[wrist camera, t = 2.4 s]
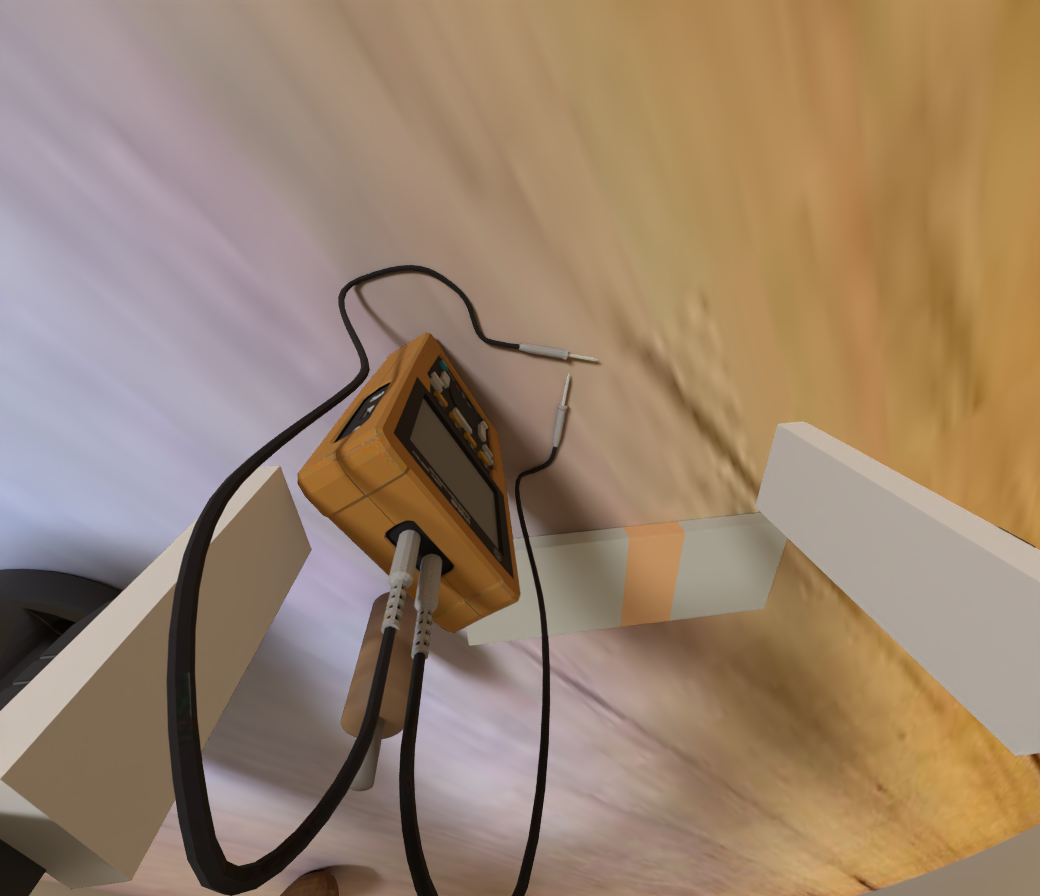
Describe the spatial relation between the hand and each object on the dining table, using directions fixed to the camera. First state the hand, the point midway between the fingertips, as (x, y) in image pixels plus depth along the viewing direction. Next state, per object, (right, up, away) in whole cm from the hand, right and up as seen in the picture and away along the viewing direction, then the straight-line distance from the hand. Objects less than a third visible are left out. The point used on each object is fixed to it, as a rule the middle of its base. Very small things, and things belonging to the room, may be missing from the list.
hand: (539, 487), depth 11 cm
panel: (+7, -9, +20) cm, 23 cm away
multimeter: (-2, +6, +12) cm, 13 cm away
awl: (-10, -11, +19) cm, 24 cm away
